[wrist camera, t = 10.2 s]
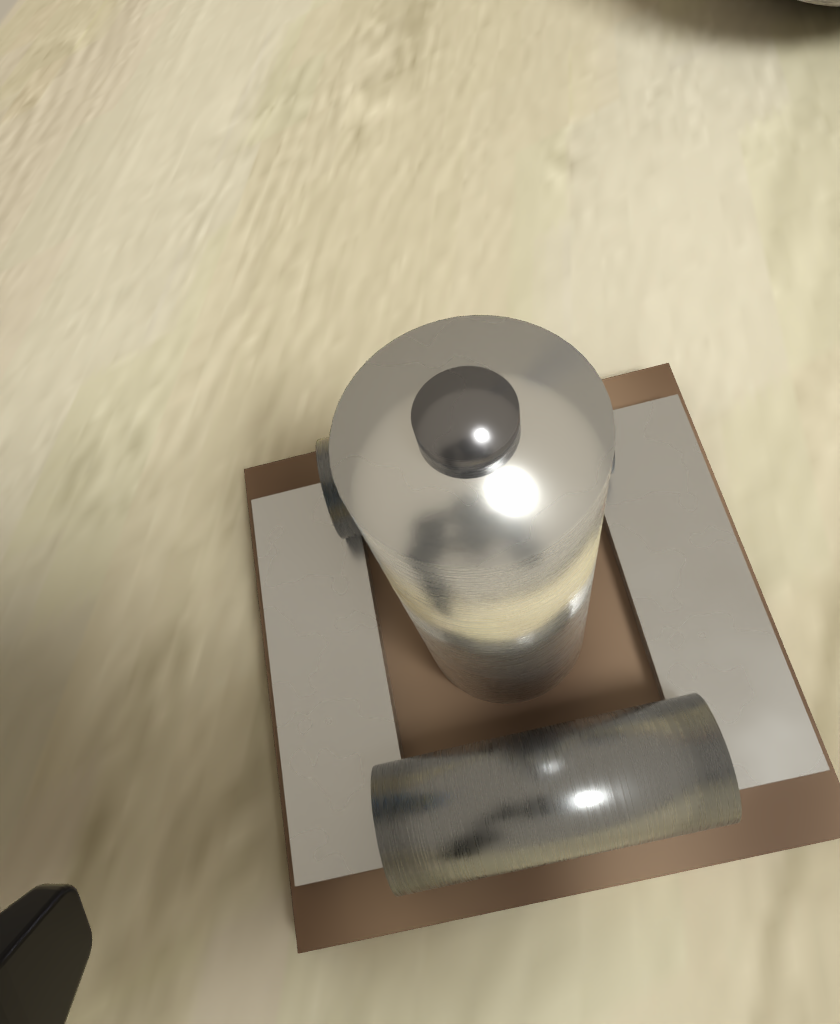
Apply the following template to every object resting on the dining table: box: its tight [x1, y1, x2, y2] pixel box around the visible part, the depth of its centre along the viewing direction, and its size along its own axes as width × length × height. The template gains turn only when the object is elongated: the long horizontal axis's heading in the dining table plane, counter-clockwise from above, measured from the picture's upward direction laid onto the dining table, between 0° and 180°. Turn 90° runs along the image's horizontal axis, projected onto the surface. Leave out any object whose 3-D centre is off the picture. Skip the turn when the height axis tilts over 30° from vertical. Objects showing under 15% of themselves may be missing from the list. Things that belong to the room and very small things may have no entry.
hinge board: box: [244, 363, 840, 953], centre depth 22 cm, size 14×14×1 cm
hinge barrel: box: [329, 315, 616, 704], centre depth 17 cm, size 4×4×12 cm
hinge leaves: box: [251, 394, 830, 897], centre depth 20 cm, size 13×12×3 cm
